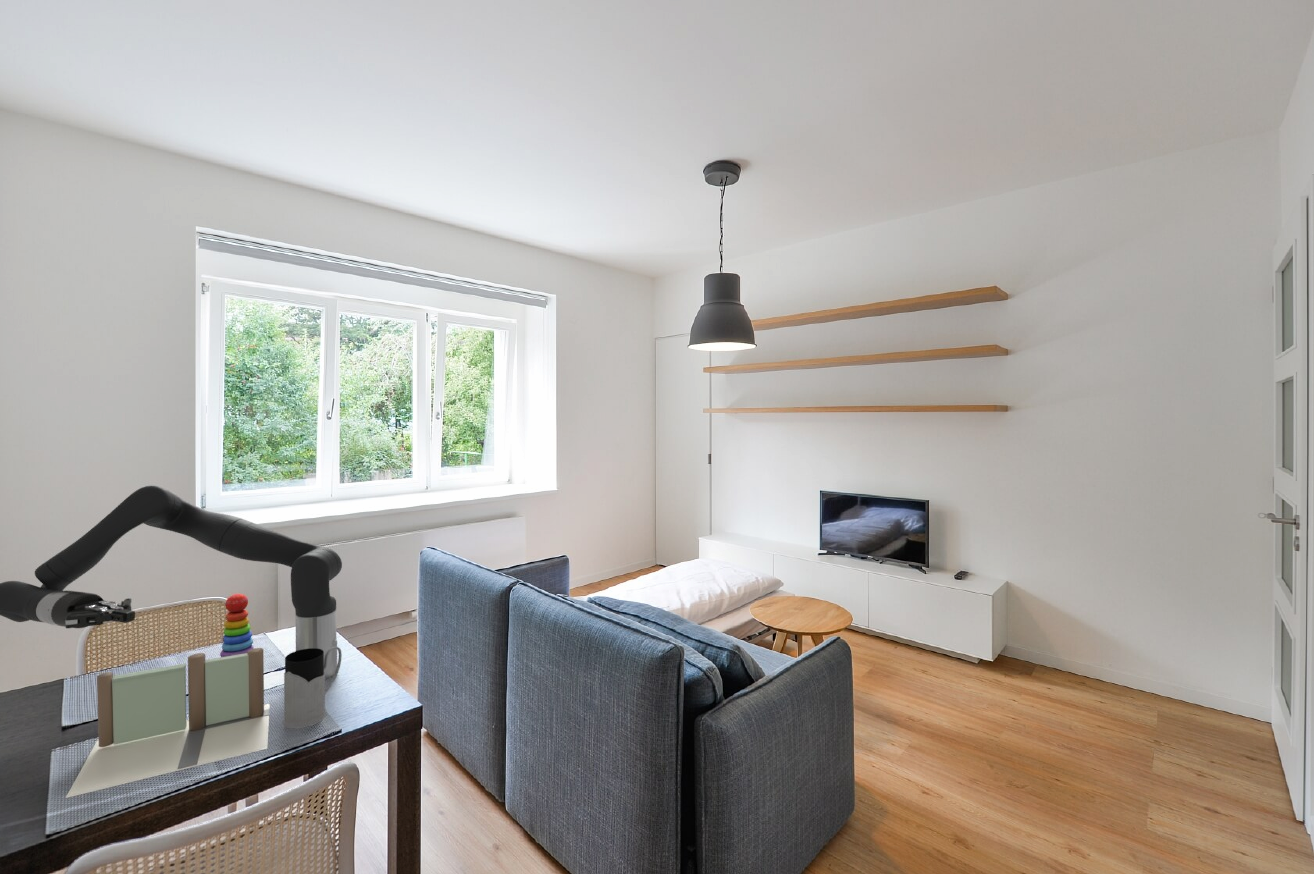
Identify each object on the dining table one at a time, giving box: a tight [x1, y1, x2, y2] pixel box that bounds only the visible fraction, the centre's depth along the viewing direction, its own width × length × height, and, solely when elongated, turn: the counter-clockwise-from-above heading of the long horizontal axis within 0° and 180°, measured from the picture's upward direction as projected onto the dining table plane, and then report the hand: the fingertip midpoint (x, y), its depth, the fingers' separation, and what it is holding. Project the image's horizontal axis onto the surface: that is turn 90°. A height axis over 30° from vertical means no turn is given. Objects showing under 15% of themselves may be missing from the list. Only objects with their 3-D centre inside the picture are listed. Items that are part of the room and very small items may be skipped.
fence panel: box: [96, 663, 188, 747], centre depth 122 cm, size 14×2×15 cm, turn 122°
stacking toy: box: [219, 593, 255, 658], centre depth 160 cm, size 8×8×19 cm
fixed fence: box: [187, 647, 265, 731], centre depth 129 cm, size 14×3×16 cm, turn 123°
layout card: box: [65, 703, 271, 799], centre depth 121 cm, size 30×21×1 cm
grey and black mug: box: [282, 646, 343, 729], centre depth 134 cm, size 9×14×15 cm, turn 162°
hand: (131, 616), depth 126 cm, fingers closed
